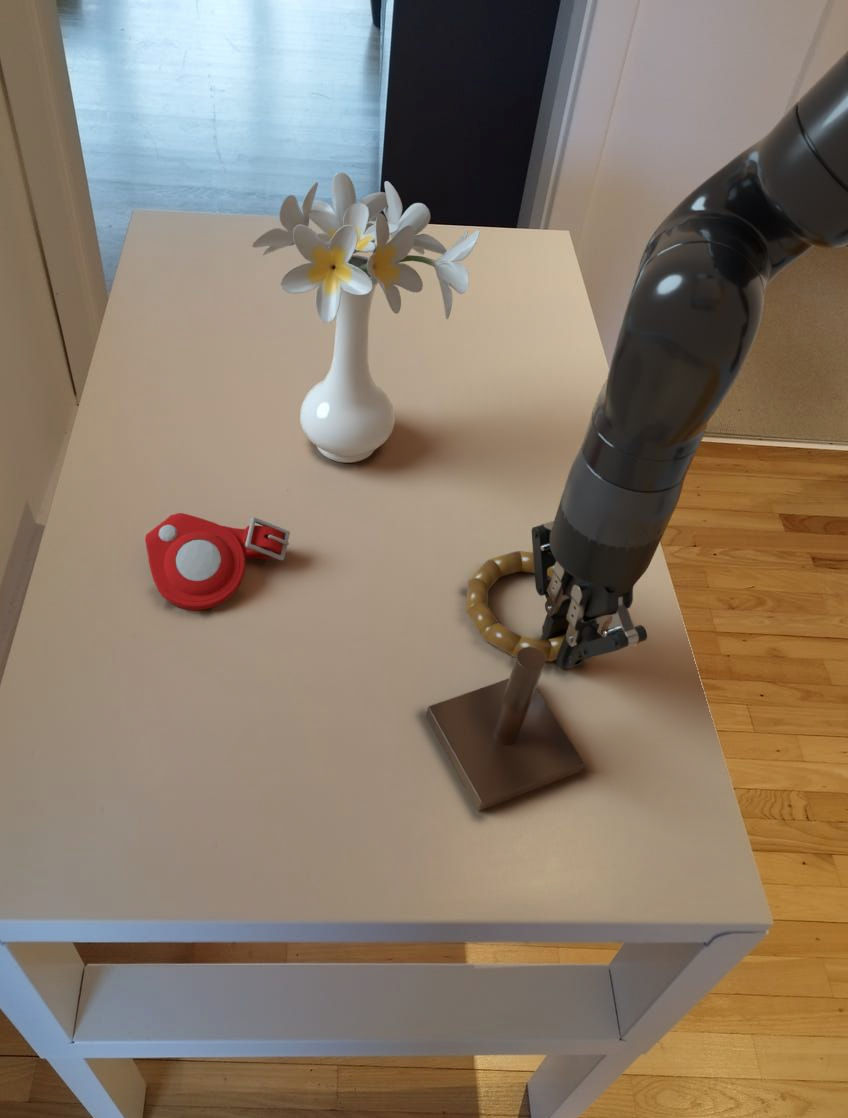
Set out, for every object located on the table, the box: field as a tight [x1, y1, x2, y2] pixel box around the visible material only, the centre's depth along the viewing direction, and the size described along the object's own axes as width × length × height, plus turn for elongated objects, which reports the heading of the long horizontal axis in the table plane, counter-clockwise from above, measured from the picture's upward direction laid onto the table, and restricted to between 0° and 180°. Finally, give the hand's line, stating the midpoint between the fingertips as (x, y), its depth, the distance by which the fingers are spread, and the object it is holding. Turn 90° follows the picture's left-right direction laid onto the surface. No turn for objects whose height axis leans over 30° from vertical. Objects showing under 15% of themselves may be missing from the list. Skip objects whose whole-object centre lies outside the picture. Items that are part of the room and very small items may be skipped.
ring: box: [466, 550, 566, 662], centre depth 79 cm, size 12×12×2 cm
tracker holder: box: [144, 512, 291, 611], centre depth 80 cm, size 12×4×10 cm
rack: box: [425, 647, 585, 812], centre depth 67 cm, size 9×9×12 cm
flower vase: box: [252, 171, 481, 464], centre depth 82 cm, size 13×18×25 cm
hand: (559, 651), depth 77 cm, fingers closed on ring, 2 cm apart
